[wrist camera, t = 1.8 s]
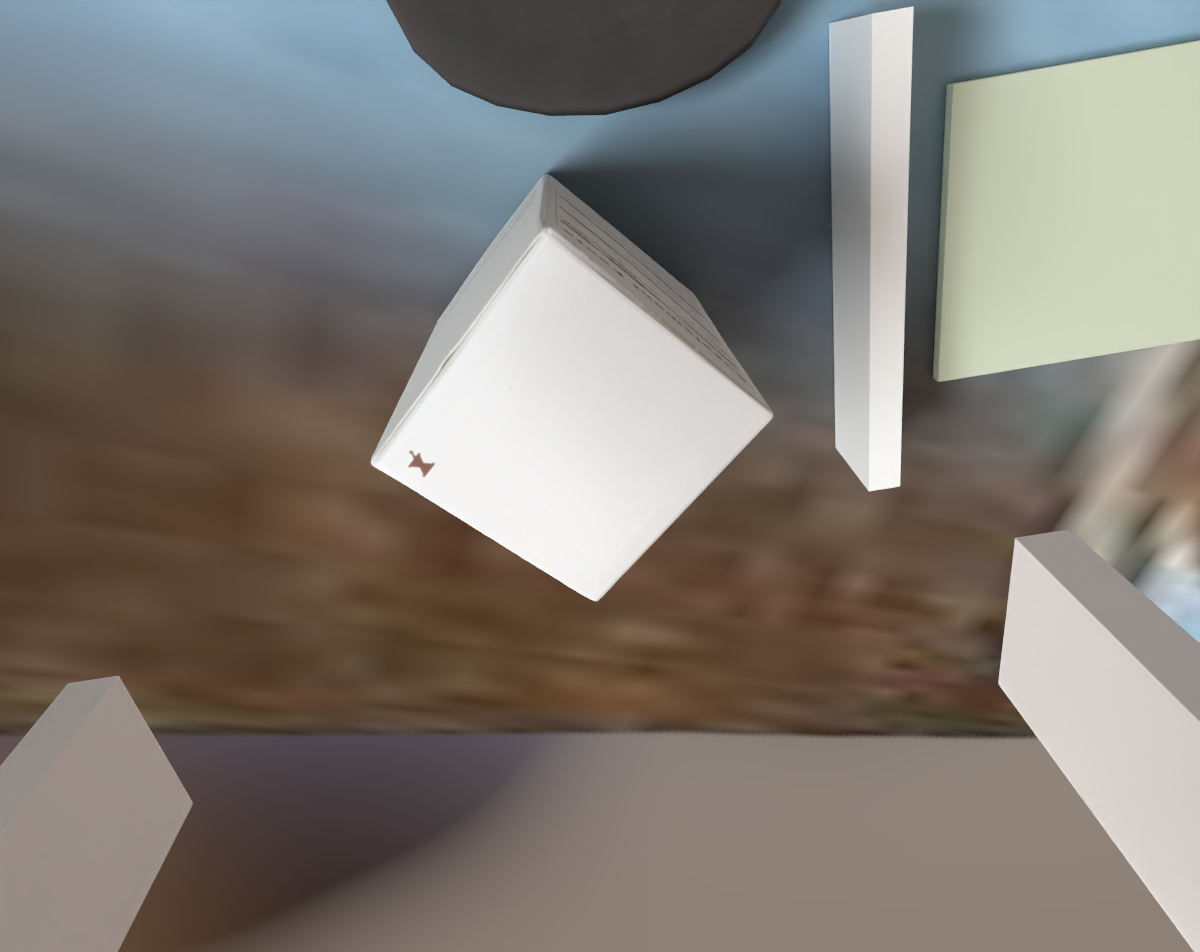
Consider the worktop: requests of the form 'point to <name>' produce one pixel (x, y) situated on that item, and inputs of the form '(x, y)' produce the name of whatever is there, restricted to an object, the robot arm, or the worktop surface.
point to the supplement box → (570, 397)
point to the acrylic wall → (870, 236)
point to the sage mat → (1070, 212)
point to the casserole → (579, 48)
